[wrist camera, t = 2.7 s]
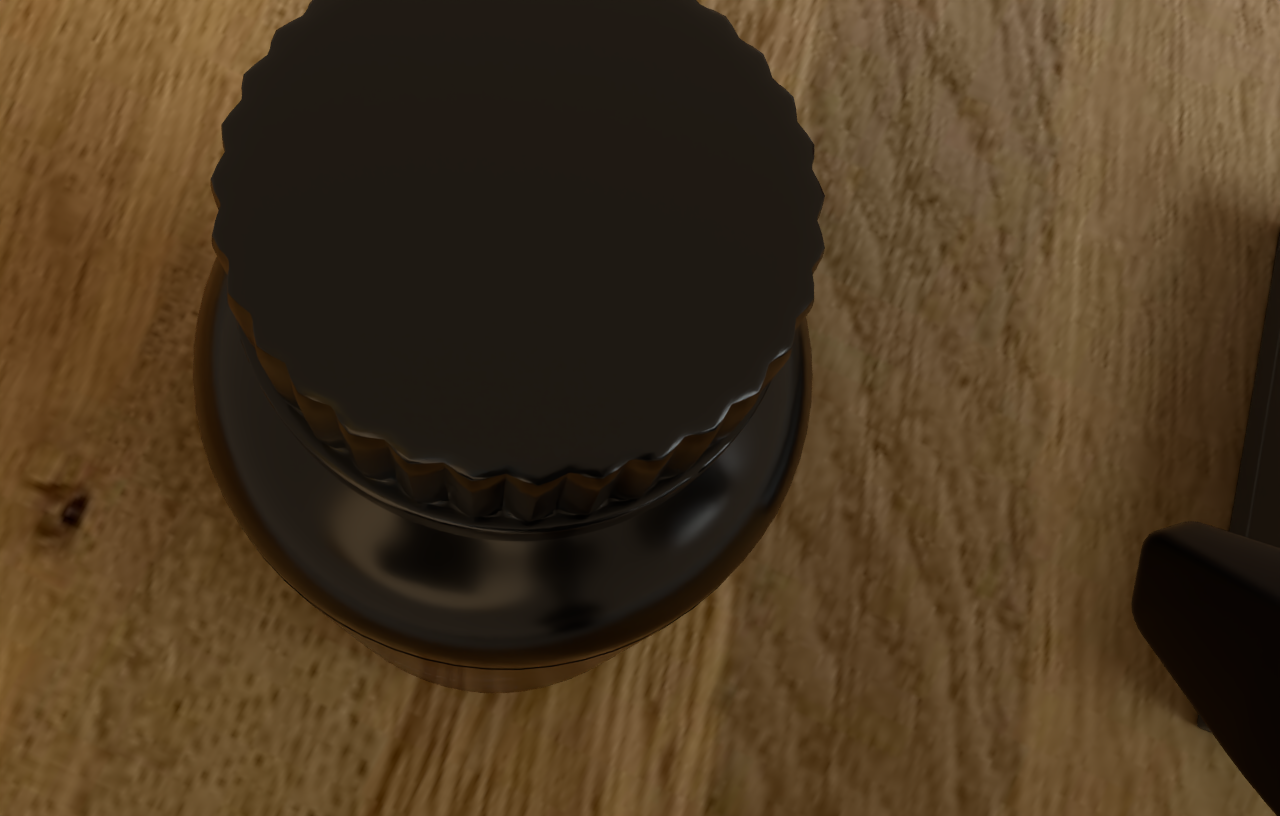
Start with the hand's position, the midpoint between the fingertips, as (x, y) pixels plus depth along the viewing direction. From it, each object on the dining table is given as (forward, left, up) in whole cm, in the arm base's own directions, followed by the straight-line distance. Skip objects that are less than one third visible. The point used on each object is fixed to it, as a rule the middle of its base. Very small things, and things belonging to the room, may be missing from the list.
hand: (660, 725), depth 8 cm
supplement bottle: (+2, +3, -11) cm, 12 cm away
